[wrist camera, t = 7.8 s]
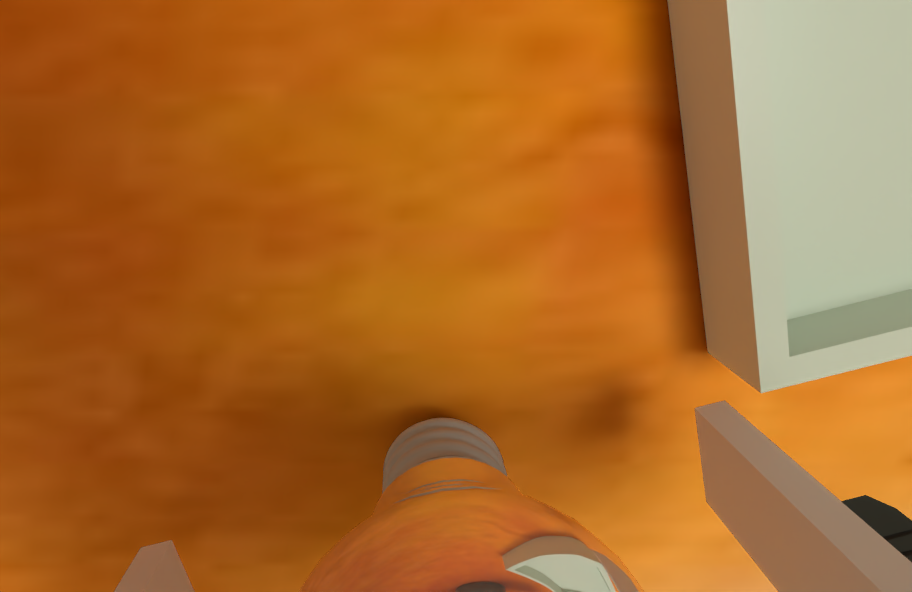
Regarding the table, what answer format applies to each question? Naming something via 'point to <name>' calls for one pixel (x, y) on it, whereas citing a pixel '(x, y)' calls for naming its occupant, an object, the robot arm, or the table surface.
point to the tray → (799, 181)
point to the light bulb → (463, 528)
